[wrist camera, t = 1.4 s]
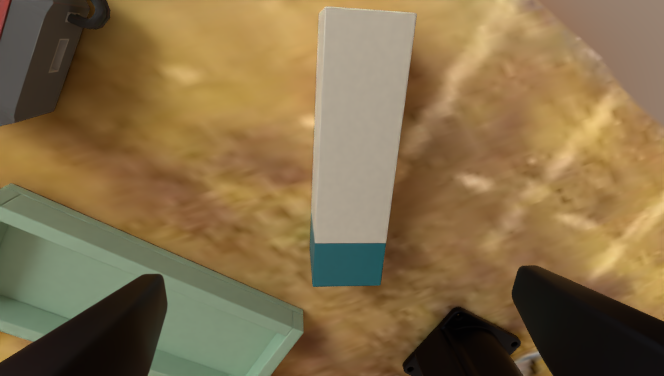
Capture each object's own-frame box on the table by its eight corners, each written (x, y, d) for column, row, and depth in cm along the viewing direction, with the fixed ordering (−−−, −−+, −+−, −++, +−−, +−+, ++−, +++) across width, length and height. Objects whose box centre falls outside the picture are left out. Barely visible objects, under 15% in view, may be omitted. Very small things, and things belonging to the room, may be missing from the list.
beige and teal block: (318, 12, 17) (325, 6, 13) (393, 17, 17) (417, 12, 14) (309, 249, 22) (312, 287, 18) (367, 248, 22) (380, 285, 19)
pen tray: (303, 309, 23) (304, 332, 22) (248, 383, 25) (244, 410, 24) (11, 182, 18) (-21, 198, 16) (-28, 287, 20) (-60, 312, 18)
